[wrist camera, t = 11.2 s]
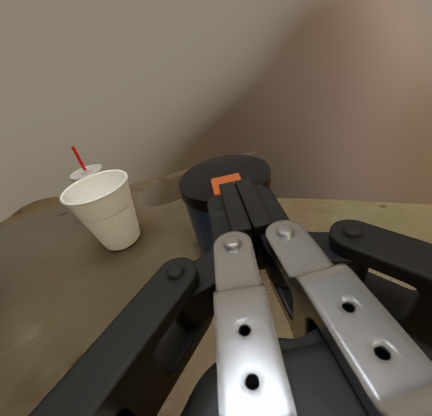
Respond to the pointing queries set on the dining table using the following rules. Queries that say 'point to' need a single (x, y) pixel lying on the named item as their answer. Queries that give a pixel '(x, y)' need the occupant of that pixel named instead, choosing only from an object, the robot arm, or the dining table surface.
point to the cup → (105, 207)
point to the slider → (223, 181)
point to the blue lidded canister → (202, 191)
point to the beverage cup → (84, 169)
